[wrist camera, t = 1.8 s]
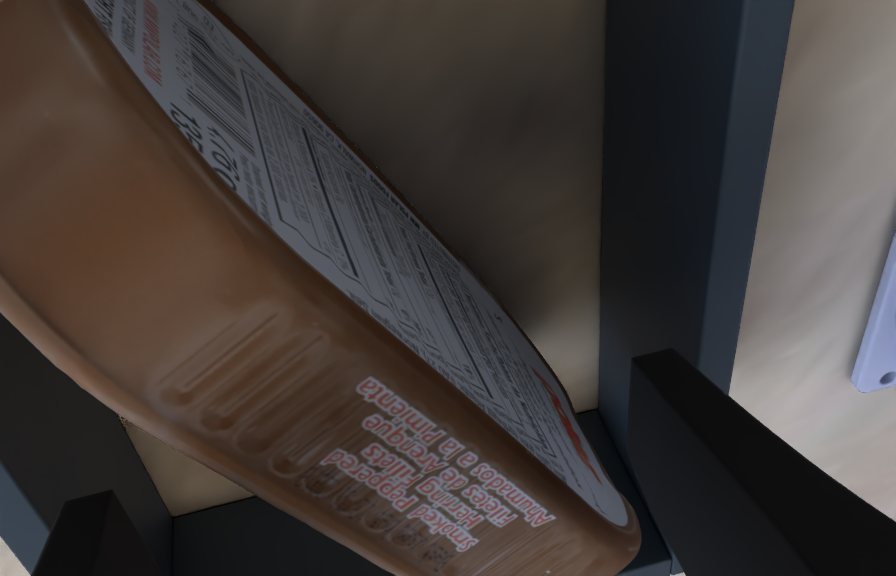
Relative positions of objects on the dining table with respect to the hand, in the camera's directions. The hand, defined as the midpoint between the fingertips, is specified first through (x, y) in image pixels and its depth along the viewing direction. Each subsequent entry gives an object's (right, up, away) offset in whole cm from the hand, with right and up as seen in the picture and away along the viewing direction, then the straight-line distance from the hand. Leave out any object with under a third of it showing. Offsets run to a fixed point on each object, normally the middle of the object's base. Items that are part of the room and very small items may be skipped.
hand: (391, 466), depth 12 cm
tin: (-2, +5, +6) cm, 8 cm away
